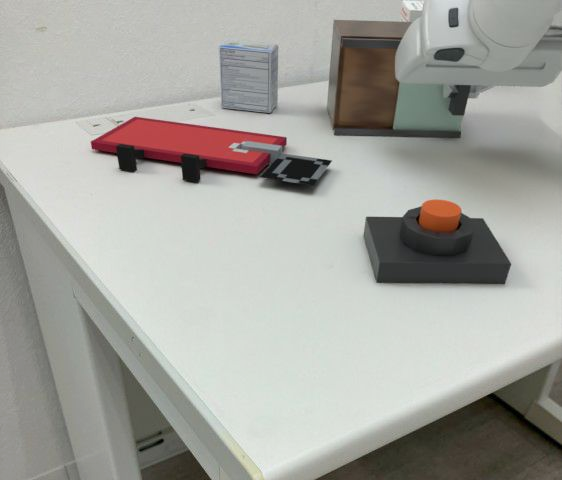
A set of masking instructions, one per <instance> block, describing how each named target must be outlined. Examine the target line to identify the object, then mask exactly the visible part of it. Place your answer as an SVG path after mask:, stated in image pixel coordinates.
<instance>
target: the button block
mask: <svg viewBox="0 0 562 480" xmlns="http://www.w3.org/2000/svg"><path fill="white" fill-rule="evenodd" d="M421 207H422V205H421V206H418V207H414V208H410V209H408V210H407V211H406V212H405V213H404V214H403V216H365V221H364V227H363V228H364V229H363V239H364V243H365V247H366V250H367V254H368V257H369V261H370V265H371V268H372V272H373V276H374V278H375V283H377V284H447V285H448V284H449V285H451V284H453V285H455V284H456V285H457V284H458V285H459V284H460V285H463V284H464V285H465V284H466V285H467V284H468V285H505V284H506V282H507V279H508V276H509V273H510V269H511V266H512V262H511V261H510V260H509V257H508V256H507V255H506V253H505V252H504V250H503V248H502V246H501V245H500V244H499V241H498V240H497V238H496V237H495V235H494V233H493V232H492V231H491V228H490V227H489V225H488V224H487V223H486V221H485V219H484V218H483V217H470V216H468V215H466V214H465V213H463V212H461V215H460V219H459V223H458V227H457V230H456V231H452V232H436V231H432V230H428V229H425V228H423V227H422V226H420V225H419V217H420V212H421Z"/></svg>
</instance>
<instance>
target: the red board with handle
mask: <svg viewBox="0 0 562 480" xmlns="http://www.w3.org/2000/svg"><path fill="white" fill-rule="evenodd" d="M287 141H288V137H287V136H280V135H274V134H267V133H259V132H251V131H243V130H237V129H229V128H221V127H214V126H207V125H200V124H199V125H198V124H193V123H192V124H191V123H184V122H179V121H178V122H177V121H169V120H161V119H155V118H147V117H140V116H134V117H132V118H130V119H128V120H126V121H125V122H123V123H120V124H119V125H118V126H116V127H114V128H112V129H110V130H108V131H107V132H105V133H103V134H102V135H100V136H98V137H96V138H94V139H93V140H91V141H90V145H91V146H90V147H91V150H94V149H95V151H100V150H101V151H100V152H106V153H107V152H108V153H114V154H116V156H117V163H118V169H122V170H121V171H124V170H127V171H126V172H130V171H131V172H132V173H134V172H136V171H137V170H138V166H137V159H141V158H142V159H143V158H147V159H154V160H160V161H167V162H172V163H173V162H174V163H178V164H179V163H180V165H181V177H182V180H183V181H187V182H194V183H198V182H199V181H201V178H202V177H201V169H202V168H212V169H221V170H226V171H232V172H238V173H245V174H246V173H247V174H251V175H252V174H253V175H258V174H259V173H260V172H261V171H262V170H264V168H265V167H266V166H267V165H268V166H269V167H267V168H266V169H265V170H264V172H263V173H261V175H259V178H261V179H268V180H274V181H281V182H287V183H295V184H301V185H306V186H307V185H308V186H314V185H316V183H317V182H318V180H319V179H320V178H321V176H322V175H323V174H324V172H326V170H327V169H328V167H329V166H330V165H331V163H332V162H333V160H332V159H325V158H319V157H311V156H310V157H309V156H303V155H295V154H288V153H283V149H284V148H285V147H286V146H287V145H288V144H287V143H288V142H287Z"/></svg>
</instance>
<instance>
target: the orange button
mask: <svg viewBox="0 0 562 480" xmlns="http://www.w3.org/2000/svg"><path fill="white" fill-rule="evenodd" d="M421 206H422V207H421ZM421 206H420V207H421V212H420V217H419V225H420V226H422V227H423V228H425V229H428V230H432V231H436V232H452V231H456V230H457V227H458V223H459V219H460V215H461V213H462V208H461V206H459V205H458V204H457V203H455V202H452V201H449V200H445V199H437V198H436V199H429V200H425V201H424V202H423V203H422V204H421Z"/></svg>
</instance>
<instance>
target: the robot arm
mask: <svg viewBox="0 0 562 480" xmlns="http://www.w3.org/2000/svg"><path fill="white" fill-rule="evenodd" d="M423 1H424V4H423V10H422V16H421V17H419V18H418V19H416V20H415V21H414V22H413V23H412V24H411V25H410V26H409V28H408V29H407V31H406V33H405V34H404V36H403V38H402V40H401V42H400V44H399V46H398V49H397V52H396V55H395V76H396V79H397V80H398V81H399V82H400V83H402V84H442V85H443V98H454V97H455V95H456V94H457V93H458V87H457V85H471V87H470V91H469V96H468V99H478V97H479V96H480V94H481V93H485V92H486V91H488V90H491V89H492V88H494V87H522V88H523V87H530V88H531V87H532V88H543V87H547V86H548V85H551V84H552V83H554V82H555V81H556V79H557V78H558V77H559V76H560V74H561V73H562V25H561V24H560V25H559V24H552V23H553V22H554V18H555V17H556V15H558V14H560V12H562V0H423Z"/></svg>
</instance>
